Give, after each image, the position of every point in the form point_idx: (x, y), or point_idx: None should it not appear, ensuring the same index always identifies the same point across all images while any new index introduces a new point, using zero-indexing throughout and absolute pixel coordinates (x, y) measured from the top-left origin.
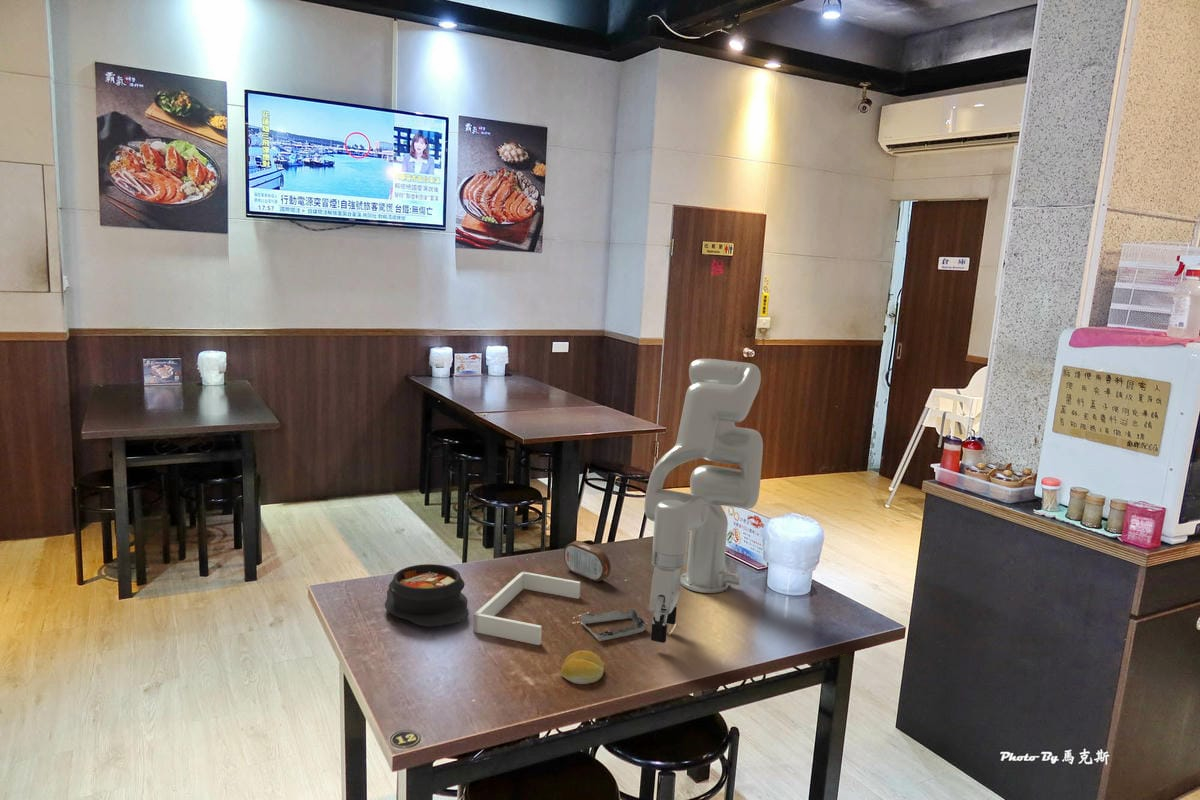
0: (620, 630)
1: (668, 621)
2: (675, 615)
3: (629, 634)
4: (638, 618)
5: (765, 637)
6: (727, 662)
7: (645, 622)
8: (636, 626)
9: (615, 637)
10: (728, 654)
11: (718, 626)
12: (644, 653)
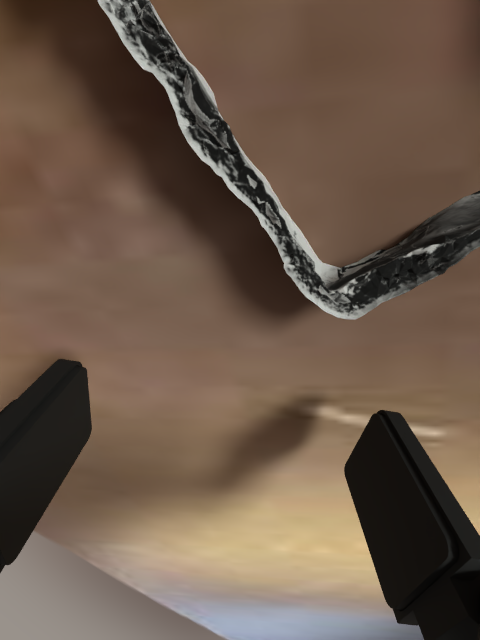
0: (153, 41)
1: (360, 456)
2: (368, 537)
3: (252, 164)
4: (464, 236)
5: (324, 623)
6: (122, 555)
7: (379, 301)
8: (287, 228)
9: (157, 14)
10: (180, 560)
11: None
12: (21, 293)
